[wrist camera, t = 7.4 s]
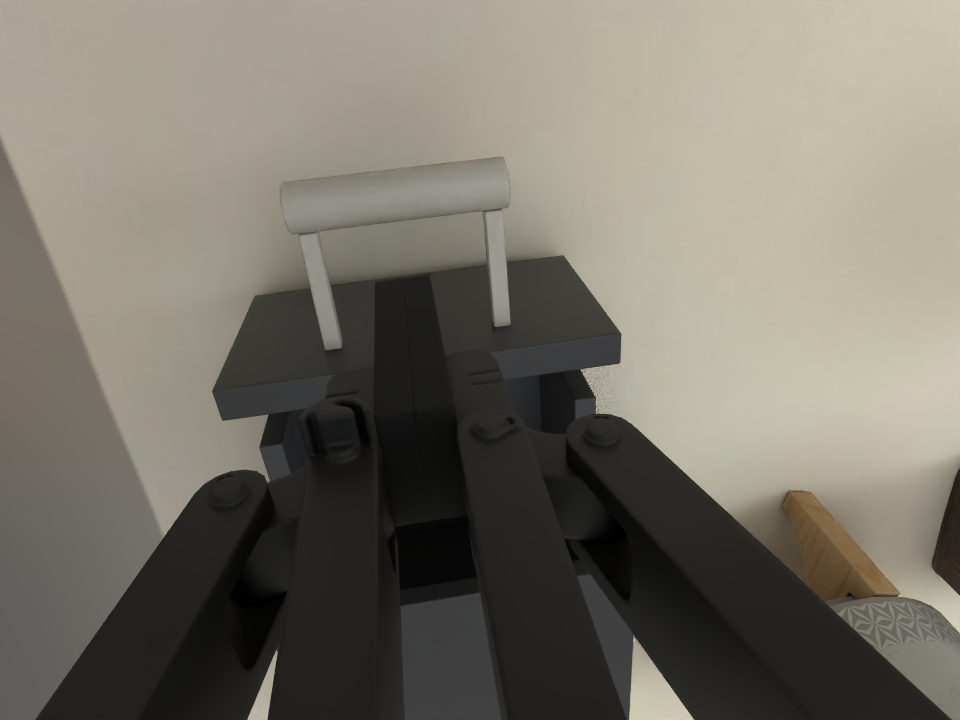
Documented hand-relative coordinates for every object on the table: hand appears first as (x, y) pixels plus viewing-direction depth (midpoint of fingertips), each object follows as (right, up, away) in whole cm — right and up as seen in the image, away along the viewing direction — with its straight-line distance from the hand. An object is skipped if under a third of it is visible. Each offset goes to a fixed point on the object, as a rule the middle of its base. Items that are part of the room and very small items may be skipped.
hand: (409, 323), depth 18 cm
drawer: (-1, -1, +12) cm, 12 cm away
